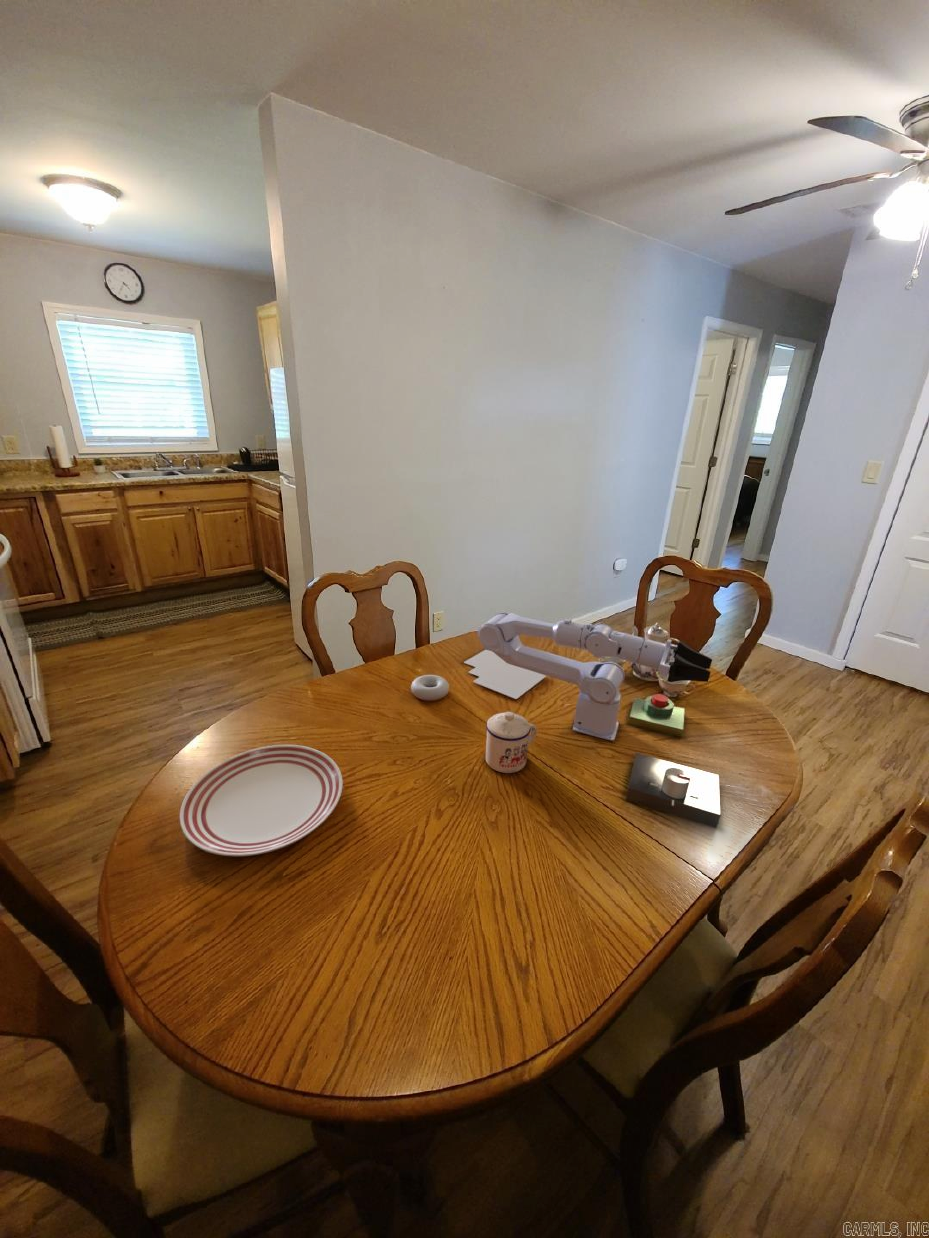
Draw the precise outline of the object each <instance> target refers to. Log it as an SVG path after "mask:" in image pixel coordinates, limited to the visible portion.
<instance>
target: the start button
mask: <svg viewBox="0 0 929 1238" xmlns="http://www.w3.org/2000/svg"><path fill="white" fill-rule="evenodd" d="M668 699H669V697H668V696H667V695H665V694H661V693H654V694H653V698H652V704H654V705H656V706H660V707H666V706H667V704H668Z"/></svg>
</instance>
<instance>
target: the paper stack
mask: <svg viewBox="0 0 929 1238" xmlns="http://www.w3.org/2000/svg"><path fill="white" fill-rule="evenodd" d="M463 663H464V664H466V665H468V666H471V667H474V668H472V669H470V670H469V671H468V672H467V673H468V674H471V675H474V676H476V677H477V678H475V679H474V680H473V681H472V683H475V684H478V685H479V686H482V687H485V688H487V689H490V690H492V691H494V692H496V693H497V692H498V693H499V694H502V695H504V696H507V697H510V698H512V699H515V700H517V699H519V698H520V697H521V696H523V695H524V694H525V693H526V692H528V691H529V690H531V689H532V688H533V687H534V686H535V685H537V684H538V683H540V682H541V681H542V680H544V679H545V678H546V677H547V676H546V675H543V674H540V673H536V672H533V671H530V670H527V669H523V668H520V667H517V666H514V665H510V664H508V663H506V662H505V661H504V660H502V659H501V658H500V657H499V656H497V655H496V654H495V653H494V652H492V651H489V650H486V649H484V650H482V651H480V652H479V653H477V654H475V655H473V656H472V657H470V658H468V659H467V660H465V661H463Z"/></svg>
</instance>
